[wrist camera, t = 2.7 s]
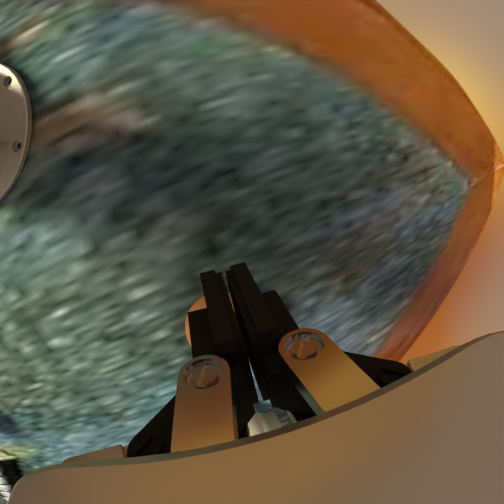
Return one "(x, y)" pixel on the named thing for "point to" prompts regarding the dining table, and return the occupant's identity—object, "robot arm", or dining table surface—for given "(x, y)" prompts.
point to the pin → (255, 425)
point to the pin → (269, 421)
